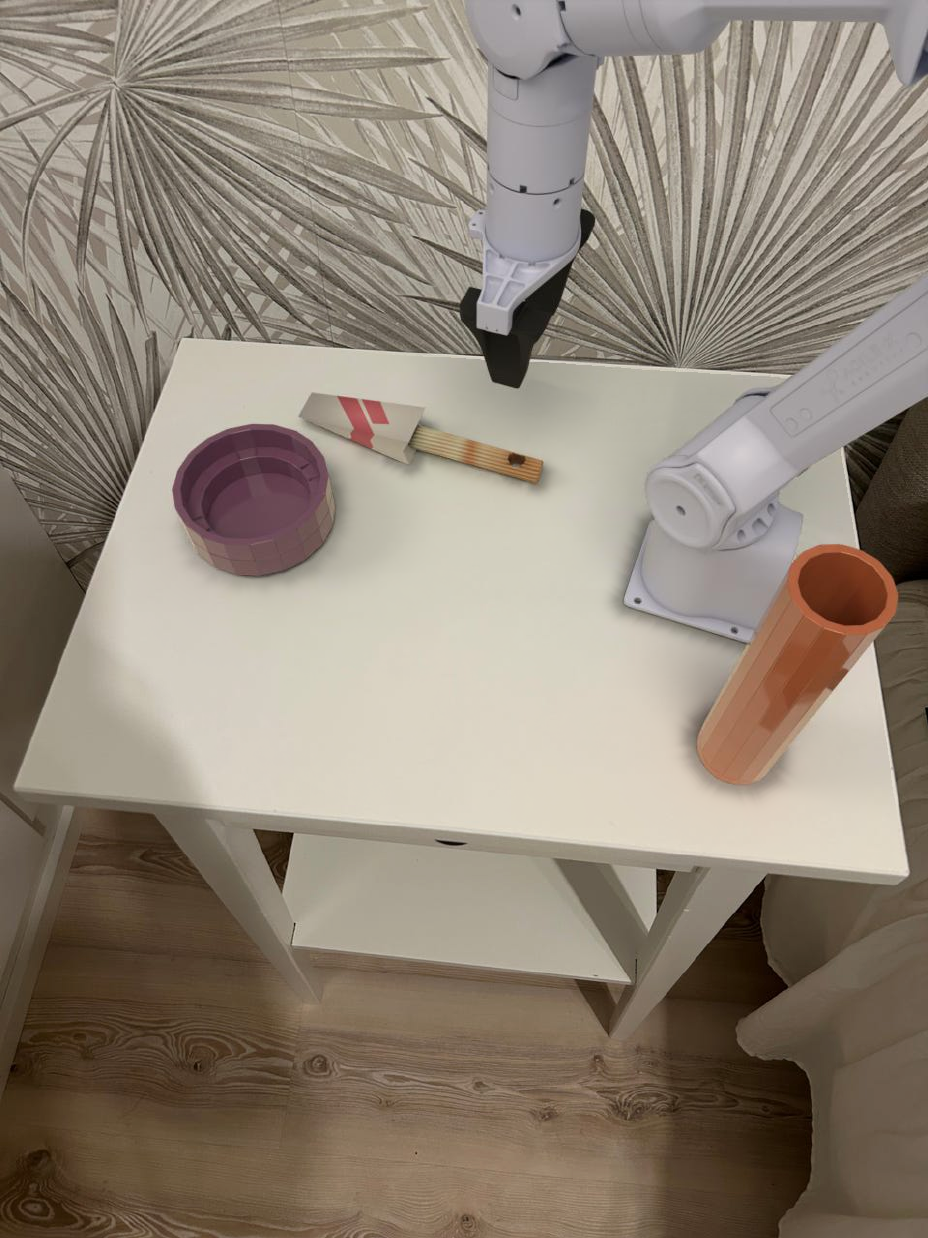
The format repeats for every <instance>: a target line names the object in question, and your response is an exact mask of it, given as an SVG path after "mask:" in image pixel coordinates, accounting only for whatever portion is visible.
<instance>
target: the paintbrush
mask: <svg viewBox="0 0 928 1238" xmlns="http://www.w3.org/2000/svg"><path fill="white" fill-rule="evenodd" d="M425 409H426V407H425V406H416V405H410V404H403V403H395V402H389V401H382V400H381V401H380V400H372V399H366V398H357V397H352V396H351V397H350V396H342V395H334V394H328V393H320V392H311V393H310V394H309V396H308V398H307V400H306V402H305V404H304V405H303V406H302V408H301V410H300V412H299V414H298V416H297V417H298V418H300V419H302V420H304V421H307V422H309V423H312V424H314V425H316V426H319V427H321V428H323V429H325V430H328V431H330V432H332V433H335V434H336V435H339V436H342V437H343V438H346V439H348V440H350V441H353V442H355V443H357V444H360V445H362V446H364V447H366V448H369V449H371V450H373V451H375V452H377V453H379V454H382V455H384V456H387V457H389V458H391V459H394V460H396V461H398V462H400V463H402V464H405V465H407V466H410V465H411V463H412V461H413V459H414V457H415V455H416V453H417V451H418V450H419V451H422V452H426V453H429V454H433V455H436V456H441V457H444V458H447V459H451V460H454V461H457V462H461V463H465V464H467V465H471V466H475V467H479V468H481V469H485V470H489V471H492V472H496V473H500V474H501V475H506V476H508V477H513V478H516V479H519V480H523V481H527V482H530V483H534V484H537V483H539V479H540V477H541V475H542V471H543V468H544V461H543V460H542V459H538V458H535V457H533V456H532V457H531V456H528V455H524V454H521V453H518V452H514V451H511V450H507V449H504V448H500V447H498V446H494V445H491V444H487V443H483V442H479V441H476V440H472V439H469V438H466V437H462V436H458V435H454V434H451V433H447V432H444V431H440V430H438V429H437V430H436V429H434V428H431V427H426V426H424V425H423V423H422V422H421V418H422V416H423V414H424V411H425ZM514 464H515V465H516V464H517V465H519V466H513V465H514Z"/></svg>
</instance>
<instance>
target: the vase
mask: <svg viewBox="0 0 928 1238" xmlns="http://www.w3.org/2000/svg"><path fill="white" fill-rule="evenodd" d="M898 602H899V593H898V589H897V586H896V583H895V579H894V577H893V576H892V574H891V573H890V572H889V571H888V570H887V569H886V567H885V566H884V565H883V564H882V563H881V561H879V560H878V559H877V558H875V557H873V556H872V555H870V554H869V553H867V552H866V551H864V550H861V549H860V548H856V547H852V546H849V545H845V544H841V543H829V544H828V543H827V544H825V543H824V544H818V545H815V546H813V547H811V548H808V549H806V550H803V551H802V552H800V554H799V555H798V556H797V557H796V558H795V559H793V561H792V562H791V565H790V567H789V569H788V571H787V573H786V575H785V576H784V578H783V580H782V582H781V584H780V585H779V587H778V589H777V591H776V593H775V594H774V596H773V598H772V600H771V602H770V604H769V605H768V607H767V609H766V611H765V613H764V614H763V616H762V618H761V620H760V622H759V623H758V625H757V627H756V629H755V631H754V632H753V634H752V636H751V638H750V640H749V642H748V643H746V646H745V647H744V649H743V650H742V652H741V654H740V655H739V658H738V660H737V661H736V663H735V665H734V666H733V669H732V670H731V672H730V674H729V676H728V677H727V680H726V681H725V683H724V685H723V687H722V688H721V691H720V692H719V694H718V696H717V697H716V699H715V701H714V703H713V705H712V707H711V709H710V710H709V712H708V714H707V715H706V717H705V719H704V721H703V723H702V725H701V727H700V730H699V732H698V734H697V739H696V750H697V754H698V755H697V756H698V758H699V760H700V761H701V764H702V765H703V766H704V768H705V769H706V770H707V772H709V773H710V774H711V775H712V776H714V778H716V779H718V780H720V781H722V782H724V783H726V784H731V785H736V786H746V785H750V784H754V783H756V782H758V781H761V780H762V779H763V778H764V777H765V776H766V775H767V774H768V773H769V771H770V770H771V769H772V768H773V767H774V765H776V763H777V762H778V761H779V760H780V758H781V757H782V756H783V754H784V753H785V752H786V751H787V749H788V748H789V747H790V746H791V744H792V743H793V742H794V741H795V739H796V738H797V737H798V736H799V734H800V733H801V732H802V731H803V729H804V728H805V727H806V726H807V724H808V723H809V722H810V721H811V720H812V718H813V717H814V716H815V714H816V713H817V712H818V710H819V709H820V708H821V707H822V706H823V704H824V703H825V702H826V701H827V700H828V698H829V697H830V696H831V694H833V692H834V691H835V690H836V688H837V687H838V686H839V685H840V683H841V682H842V681H843V679H844V678H845V677H846V676H847V675H848V674H849V672H850V671H851V670H852V669H853V667H854V666H855V665H856V663H857V662H858V661H859V659H860V658H861V657H862V656H863V655H864V653H865V652H866V651H867V650H868V648H870V646H871V645H872V643H873V642H874V641H875V640H876V638H877V637H878V636H879V635H880V634H881V632H882V631H883V630H884V629H885V627H886V626H887V625H888V623H889V622H890V621H891V619H893V618H894V616H895V615H896V613H897V608H898Z"/></svg>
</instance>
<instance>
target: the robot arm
mask: <svg viewBox="0 0 928 1238" xmlns="http://www.w3.org/2000/svg"><path fill="white" fill-rule="evenodd" d="M463 1H464V8H465V13H466V18H467V22H468V26H469V28H470V32H471V33H472V36H473V39H474V41H475V43H476V45H477V46H478V48H479V50H480V52H481V53H482V55H483V56H484V57H485V59H486V60H487V111H486V112H487V116H486V117H487V118H486V120H487V121H486V199H485V200H486V203H485V204H486V207H485V209H478V210H476V211H475V212H474V213H473V215H472V217H471V218H470V219H469V222H468V225H467V234H468V236H469V237H471V238H473V239H477V240H480V241H481V243H482V284H481V285H482V286H481V288H478V287H473V286H468V288H467V290H466V292H465V293H464V295H463V297H462V299H461V300H460V303H459V316H460V321H461V323H462V324H463V325H464V326H465V327H466V328H467V329H468V330H469V331H470V334H472V336H473V337H474V338H475V340H476V341H477V344H478V346H479V347H480V350H481V353H482V356H483V359H484V361H485V364H486V368H487V371H488V374H489V377H490V380H491V382H492V383H493V384H497V385H502V386H505V387H508V388H513V389H517V390H518V389H520V388H521V386H522V384H523V383H524V380H525V377H526V375H527V373H528V369H529V365H530V361H531V357H532V353H533V351H534V350H533V349H534V347H535V345H536V343H537V342H538V341H539V340H540V339H541V338H542V336H543V335H544V333H545V331H546V329H547V327H548V325H549V323H550V322H551V319H552V317H554V316H555V314H556V311H557V310H558V307H559V305H560V303H561V301H562V297H563V295H564V292H565V288H566V286H567V282H568V279H569V276H570V272H571V270H572V267H573V264H574V262H575V259H576V258H577V256H578V254H579V252H580V251H581V250H582V248H583V247H584V246H585V244H586V242H588V240H589V239H590V237H591V234H592V232H593V231H594V228H595V225H596V219H597V218H596V216H595V214H594V213H593V212H592V211H591V210H588V209H585V208H582V202H583V194H584V193H583V192H584V185H585V184H584V183H585V174H586V165H587V157H588V147H589V139H590V132H591V131H590V129H591V121H592V112H593V103H594V94H595V85H596V77H597V71H598V70H599V68H600V67H601V66H603V65H604V64H605V58H609V57H610V58H611V57H615V58H616V57H649V56H686V55H687V56H690V55H695V54H696V55H697V54H699V53H701V52H703V51H705V50H707V49H708V48H709V47H710V46H712V45H713V44H714V43H715V42H716V40H718V38H719V37H720V36H721V34H722V33H723V32H724V31H725V29H726V28H727V27H728V25H729V23H730V22H731V21H745V22H746V21H749V22H753V21H755V22H764V21H765V22H816V23H817V22H820V23H821V22H823V23H874V24H875V23H877V24H880V25H881V26H883V29H884V33H885V36H886V40H887V44H888V48H889V51H890V55H891V59H892V62H893V66H894V70H895V74H896V77H897V79H898V81H899V82H900V83H901V84H902V85H903V87H905V88H907V89H910V88H911V87H912V86H914V85H916V84H917V83H918V82H920V81H921V80H923V79H924V78H926V77H927V76H928V0H463ZM925 398H928V271H927V272H926V273H924V274H923V275H921V276H920V277H919V278H917V279H916V280H915V281H914V282H912V283H911V284H910V285H908V286H907V287H906V288H904V289H903V290H901V291H900V292H899V293H898V294H897V295H895V296H894V297H892V299H890V300H889V301H887V302H886V303H885V304H884V305H882V306H881V307H880V308H878V309H877V310H876V311H874V312H873V313H872V314H870V315H869V316H868V317H867V318H866V319H864V320H863V321H861V323H859V324H858V325H856V326H855V327H854V328H852V329H851V330H850V331H849V332H847V333H846V334H845V335H843V336H842V337H841V338H840V339H838V340H837V341H836V342H834V343H833V344H832V345H831V346H829V347H828V348H826V349H825V350H824V351H823V352H821V353H820V354H819V355H817V356H816V357H815V358H813V359H812V360H811V361H809V362H808V363H807V364H806V365H805V366H803V367H801V369H799V370H798V371H797V372H796V373H794V374H793V375H790V376H788V378H786V379H785V380H783V381H782V382H780V383H779V384H777V385H774V386H767V387H765V386H764V387H755V388H751V389H748V390H746V391H744V392H743V393H741V395H740V396H738V397H737V398H736V399H735V400H734V402H733V404H732V405H731V406H730V407H728V408H727V409H725V410H724V411H723V412H722V413H721V414H720V415H718V416H717V417H716V418H715V419H713V420H712V421H711V422H709V423H708V424H707V425H706V426H705V427H703V428H702V429H701V430H699V431H698V432H697V433H696V434H695V435H693V437H691V438H690V439H689V440H687V441H686V442H684V443H683V445H680V447H678V448H677V449H676V450H675V451H673V452H672V453H671V454H670V455H669V456H667V457H666V458H663V459H661V460H659V461H658V462H656V463H654V464H653V465H652V466H651V467H650V468H649V469H648V471H647V472H646V475H645V477H644V483H643V485H644V495H645V499H646V503H647V507H648V509H649V512H650V513H651V515H652V517H653V519H652V520H651V521H649V523H648V526H647V529H646V532H645V535H644V537H643V541H642V543H641V546H640V549H639V552H638V554H637V558H636V561H635V563H634V567H633V570H632V573H631V576H630V578H629V582H628V585H627V588H626V591H625V594H624V597H623V604H624V605H625V606H626V607H628V608H631V609H635V610H638V611H642V612H643V613H648V614H651V615H654V616H657V617H660V618H663V619H666V620H670V621H673V622H676V623H680V624H683V625H686V626H690V627H692V628H696V629H699V630H703V631H704V632H705V631H706V632H709V633H712V634H716V635H719V636H721V637H726V638H728V639H731V640H735V641H737V642H742V643H745V644H747V643H748V642H749V640H750V638H751V636H752V634H753V632H754V631H755V629H756V627H757V625H758V623H759V622H760V620H761V618H762V616H763V614H764V613H765V611H766V609H767V607H768V605H769V604H770V602H771V600H772V598H773V596H774V594H775V593H776V591H777V589H778V587H779V585H780V584H781V582H782V580H783V578H784V576H785V575H786V573H787V571H788V569H789V567H790V566H791V564H792V563H793V561H794V557H795V553H796V551H797V548H798V545H799V540H800V536H801V533H802V529H803V523H804V514H803V513H801V512H800V511H797V510H794V509H792V508H790V507H788V506H787V505H785V504H783V503H781V502H780V501H779V497H780V493H781V491H782V490H784V488H786V487H787V486H788V485H789V484H790V483H792V482H793V481H794V480H795V479H796V478H799V477H800V476H801V475H803V474H804V473H805V472H807V471H808V470H809V469H810V468H811V467H813V465H814V464H816V463H818V462H820V461H822V460H823V459H825V458H827V457H828V456H830V455H832V454H833V453H835V452H836V451H838V450H840V449H842V448H843V447H845V446H847V445H849V444H850V443H852V442H853V441H855V440H858V439H859V438H861V437H862V436H863V435H866V434H867V433H869V432H870V431H872V430H874V429H876V428H877V427H879V426H880V425H883V424H884V423H885V422H888V421H889V420H891V419H892V418H894V417H896V416H897V415H899V414H901V413H902V412H904V411H906V410H907V409H909V408H910V407H912V406H914V405H916V404H917V403H919V402H921V401H922V400H924V399H925ZM636 601H637V602H639V603H636ZM732 631H735V633H734V632H732Z"/></svg>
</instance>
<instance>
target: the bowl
mask: <svg viewBox="0 0 928 1238" xmlns="http://www.w3.org/2000/svg"><path fill="white" fill-rule="evenodd" d="M173 480H174V481H173V483H172V484H173V485H172V489H171V491H172V498H173V499H172V500H173V506H174V510H175V512H176V515H177V517H178V518H179V520H180V522H181V525H182V526H183V529H184V531H185V533H186V535H187V537H188V539H189V541H190V543H191V545H192V546H193V548H194V549H195V551H196V552H197V554H198V556H200V557H201V558H202V559H203V560H205V561H206V562H207V563H208V564H210V565H211V566H213V567H214V568H216V569H219V570H222V571H224V572H227V573H231V574H234V575H237V576H265V575H266V576H267V575H269V574H274V573H278V572H283V571H286V570H288V569H290V568H292V567H294V566H295V565H297V564H299V563H301V562H303V561H305V560H306V559H308V558H309V557H310V556H311V555H312V554H313V553H314V552H316V550H317V549H319V548H320V547H321V546H322V545H323V544H324V541H325V540H326V538H327V536H328V535H329V532H330V531H331V529H332V528H333V524H334V518H335V511H336V503H335V498H334V493H333V489H332V486H331V484H332V483H331V479H330V475H329V471H328V467H327V464H326V459H325V457H324V455H323V454H322V452H321V451H320V450H319V448H318V447H317V446H316V444H315V443H314V441H312V440H311V439H309V437H307V436H305V435H304V434H301V433H300V432H298V431H297V430H294V429H291V428H288V427H286V426H285V427H284V426H282V425H277V424H274V423H248V424H244V425H239V426H233V427H230V428H225V429H224V430H222V431H220V432H218V433H214V434H213V435H210V436H209V437H207V438H205V439H204V440H203V441H202V442H200V443H199V444H197V446H195V448H193V449H192V450H191V451H189V453H188V454H187V455H186V456H185V458H184V459H183V461H182V462H181V464H180V466H179V467H178V468H177V470H176V474H175V477H174V479H173Z"/></svg>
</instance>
